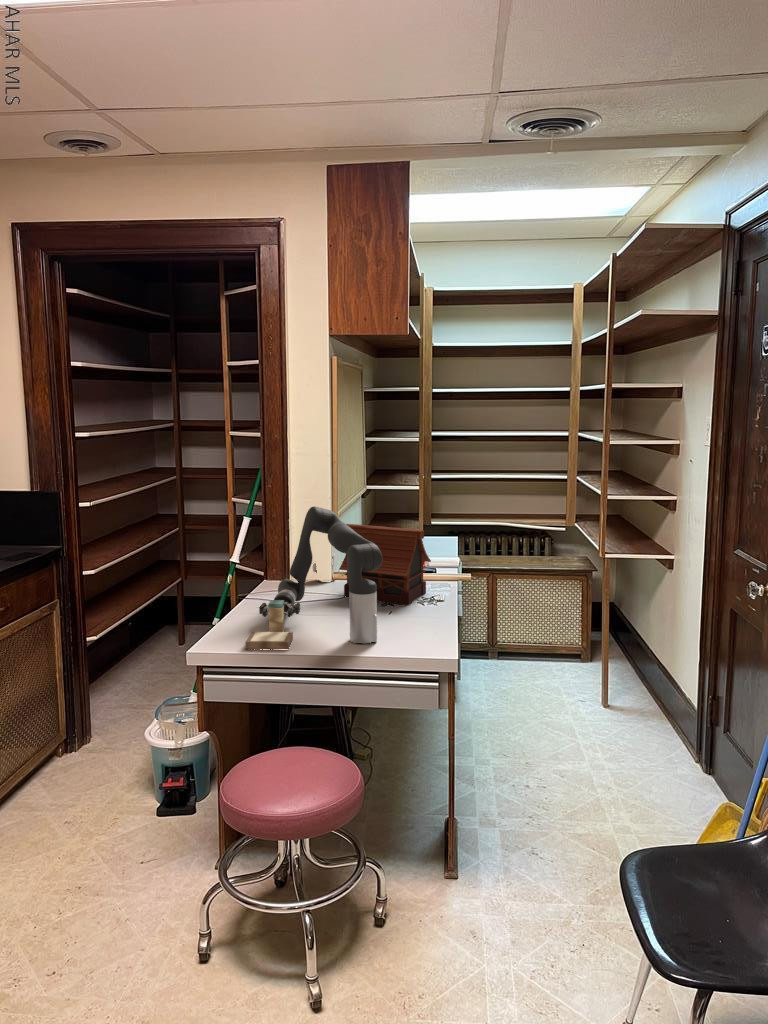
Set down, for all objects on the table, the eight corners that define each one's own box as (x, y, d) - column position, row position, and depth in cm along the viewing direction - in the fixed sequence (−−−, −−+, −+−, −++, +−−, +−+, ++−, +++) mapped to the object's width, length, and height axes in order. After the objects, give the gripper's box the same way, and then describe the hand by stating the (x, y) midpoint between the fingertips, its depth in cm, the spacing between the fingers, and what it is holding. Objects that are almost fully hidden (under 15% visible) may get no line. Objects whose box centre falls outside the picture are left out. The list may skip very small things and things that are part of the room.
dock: (293, 640, 247) (292, 631, 247) (288, 650, 237) (288, 641, 237) (252, 639, 248) (252, 631, 247) (245, 650, 238) (245, 641, 237)
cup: (331, 584, 321) (331, 557, 319) (312, 583, 322) (311, 556, 320) (338, 578, 331) (337, 552, 329) (318, 577, 332) (318, 551, 331)
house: (434, 591, 309) (435, 524, 304) (409, 609, 283) (409, 536, 279) (360, 583, 323) (360, 518, 318) (330, 599, 297) (329, 529, 293)
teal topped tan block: (284, 630, 258) (284, 600, 256) (282, 634, 253) (281, 603, 252) (271, 629, 258) (270, 600, 256) (269, 634, 253) (268, 603, 252)
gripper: (265, 591, 270) (256, 604, 254) (303, 591, 270) (296, 604, 254) (265, 611, 271) (256, 624, 255) (303, 611, 271) (297, 624, 255)
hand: (276, 614), depth 255 cm, fingers open, 8 cm apart
